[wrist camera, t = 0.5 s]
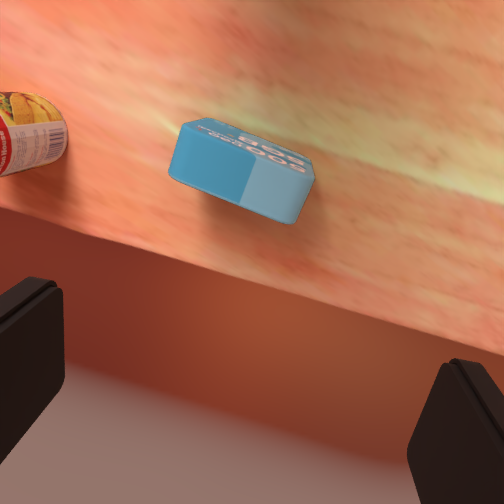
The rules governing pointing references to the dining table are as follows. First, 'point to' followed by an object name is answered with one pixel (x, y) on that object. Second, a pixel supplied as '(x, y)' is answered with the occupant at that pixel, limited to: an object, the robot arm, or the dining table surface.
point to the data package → (242, 169)
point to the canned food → (29, 132)
